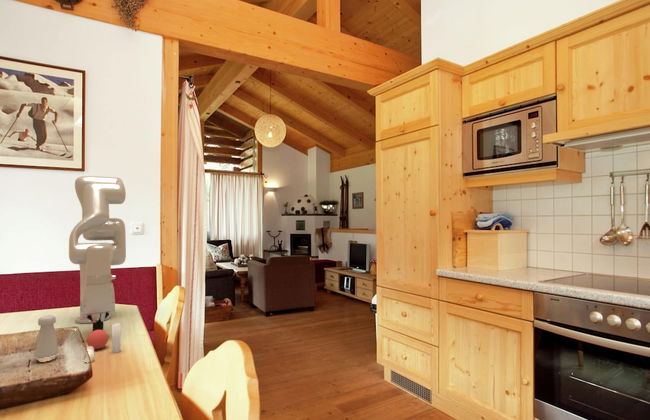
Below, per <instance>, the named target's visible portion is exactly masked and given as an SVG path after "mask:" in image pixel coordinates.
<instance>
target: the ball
mask: <svg viewBox="0 0 650 420" xmlns="http://www.w3.org/2000/svg"><path fill="white" fill-rule="evenodd" d="M108 341H109V334H108V333H107V331H105V330H104V329H103V330H95V331H93V330H92V331H91V332H90V333H89V335H88V336H87V338H86V343H87V347H89V346H92V347H93V348H94V350H100V349H102V348H104V347H105V346H106V345H107V343H108Z"/></svg>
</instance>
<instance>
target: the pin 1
mask: <svg viewBox="0 0 650 420" xmlns="http://www.w3.org/2000/svg"><path fill="white" fill-rule="evenodd" d="M86 348H87V351H88V354H89V356H90V359H91V363H92V362H93V361H94V360H95V349H94V348H93V347H92V346H87V347H86Z"/></svg>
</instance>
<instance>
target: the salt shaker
mask: <svg viewBox="0 0 650 420" xmlns="http://www.w3.org/2000/svg"><path fill="white" fill-rule="evenodd" d="M55 323H57V319H56V316H55V315H52V314H51V315H49V314H48V315H43V316H40V317H39V318H38V320H37V324H38V326H40V328H39V332H38V337H37V341H36V345H35V350H34V357H37V358H44V357H50V356H53V355H56V354H57V353H58V354H59V346H58V341H57V336H56V332H55V331H56V330H55V326H54V324H55ZM58 354H57V355H58Z"/></svg>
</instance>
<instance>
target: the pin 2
mask: <svg viewBox="0 0 650 420" xmlns="http://www.w3.org/2000/svg"><path fill="white" fill-rule="evenodd" d="M121 329H122V327H121V322H116V323H112V324H111V353H112V354H116V353H120V352H121V345H122V344H121V339H122V338H121V331H122V330H121Z"/></svg>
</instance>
